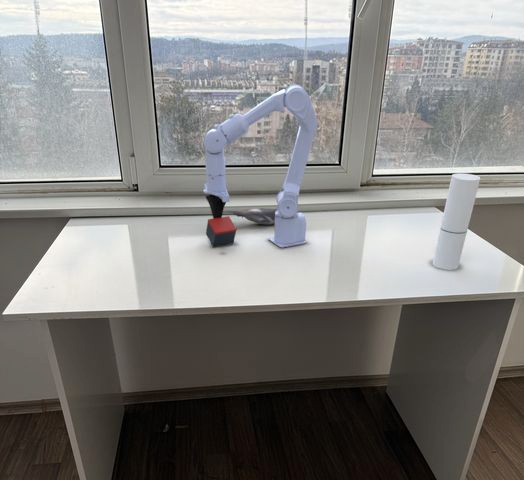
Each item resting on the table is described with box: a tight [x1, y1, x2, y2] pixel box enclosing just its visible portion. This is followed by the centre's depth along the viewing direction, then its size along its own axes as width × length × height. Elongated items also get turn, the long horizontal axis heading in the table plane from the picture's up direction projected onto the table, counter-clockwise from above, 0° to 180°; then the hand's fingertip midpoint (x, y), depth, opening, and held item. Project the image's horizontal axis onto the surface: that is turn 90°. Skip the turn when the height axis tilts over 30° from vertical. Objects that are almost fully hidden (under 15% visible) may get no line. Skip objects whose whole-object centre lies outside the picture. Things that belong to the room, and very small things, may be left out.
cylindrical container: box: [432, 172, 481, 271], centre depth 137 cm, size 7×7×25 cm
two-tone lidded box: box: [205, 215, 237, 248], centre depth 153 cm, size 7×6×6 cm
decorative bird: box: [223, 207, 278, 225], centre depth 170 cm, size 6×25×5 cm, turn 99°
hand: (217, 219), depth 153 cm, fingers closed
